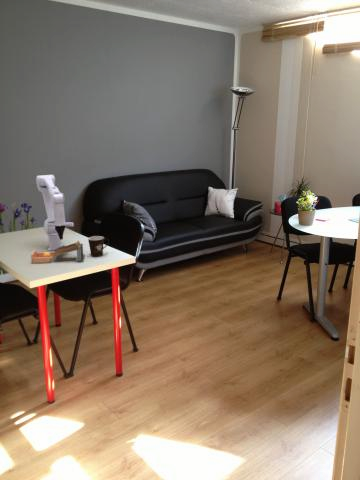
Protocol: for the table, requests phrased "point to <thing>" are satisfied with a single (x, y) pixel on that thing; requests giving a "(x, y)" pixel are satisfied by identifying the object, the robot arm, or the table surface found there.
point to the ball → (46, 254)
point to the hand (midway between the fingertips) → (61, 239)
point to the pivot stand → (80, 254)
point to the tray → (40, 257)
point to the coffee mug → (96, 245)
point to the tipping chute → (66, 249)
